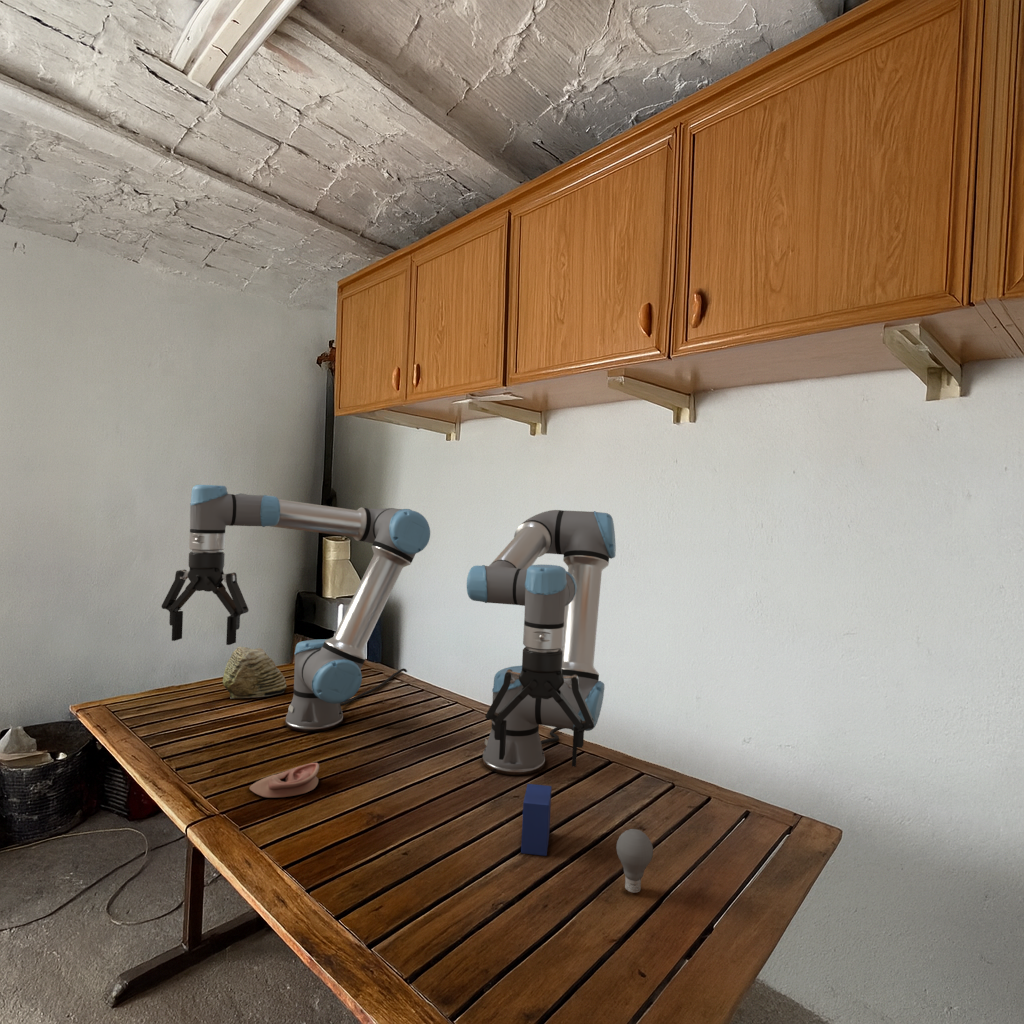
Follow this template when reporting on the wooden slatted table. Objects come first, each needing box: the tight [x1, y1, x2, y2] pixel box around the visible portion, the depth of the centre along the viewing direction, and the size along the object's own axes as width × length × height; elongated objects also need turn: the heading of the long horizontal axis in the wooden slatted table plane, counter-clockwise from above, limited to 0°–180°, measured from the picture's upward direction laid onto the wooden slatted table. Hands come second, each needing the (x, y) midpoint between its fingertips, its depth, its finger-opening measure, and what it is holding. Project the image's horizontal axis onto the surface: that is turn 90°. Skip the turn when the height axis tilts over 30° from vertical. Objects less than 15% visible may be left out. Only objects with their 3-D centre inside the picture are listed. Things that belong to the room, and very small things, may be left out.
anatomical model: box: [249, 762, 320, 799], centre depth 137 cm, size 13×4×12 cm
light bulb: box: [615, 828, 654, 894], centre depth 106 cm, size 6×6×10 cm
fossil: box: [222, 646, 288, 699], centre depth 198 cm, size 9×18×15 cm, turn 132°
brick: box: [520, 783, 552, 857], centre depth 119 cm, size 5×8×9 cm, turn 173°
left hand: (203, 641), depth 148 cm, fingers open, 13 cm apart
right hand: (537, 760), depth 119 cm, fingers open, 13 cm apart
